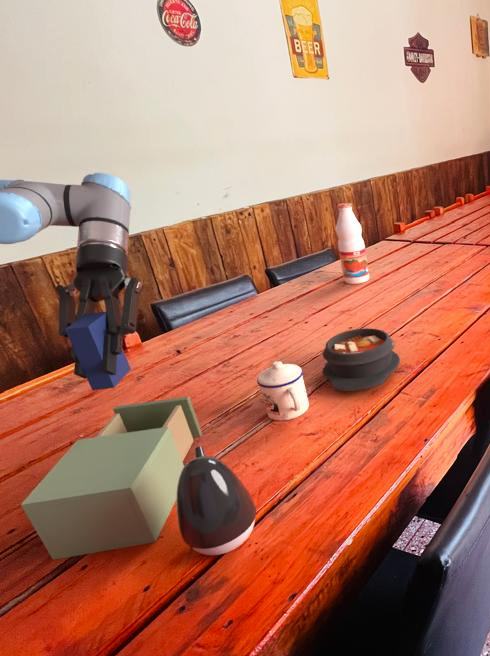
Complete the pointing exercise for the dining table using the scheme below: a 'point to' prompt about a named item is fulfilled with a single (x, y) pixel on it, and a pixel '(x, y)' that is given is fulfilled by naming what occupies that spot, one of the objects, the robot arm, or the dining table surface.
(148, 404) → the drawer
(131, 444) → the cabinet
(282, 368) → the teacup with lid
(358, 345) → the casserole
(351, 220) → the fruit juice
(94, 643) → the dining table surface
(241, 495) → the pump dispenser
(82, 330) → the rectangular block
